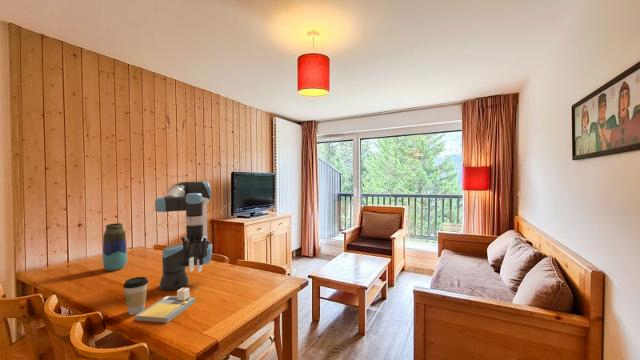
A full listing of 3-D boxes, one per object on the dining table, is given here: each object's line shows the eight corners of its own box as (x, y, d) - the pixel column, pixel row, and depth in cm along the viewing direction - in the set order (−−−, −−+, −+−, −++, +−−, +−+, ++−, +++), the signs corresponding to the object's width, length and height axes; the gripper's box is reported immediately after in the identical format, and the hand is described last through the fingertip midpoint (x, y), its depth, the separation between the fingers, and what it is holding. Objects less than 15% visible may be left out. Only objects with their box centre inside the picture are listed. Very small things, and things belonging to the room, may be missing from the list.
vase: (131, 267, 192) (130, 223, 191) (107, 273, 180) (106, 226, 179) (122, 264, 199) (121, 222, 199) (99, 270, 187) (98, 225, 187)
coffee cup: (132, 306, 133) (131, 276, 133) (152, 305, 134) (152, 275, 134) (118, 317, 123) (118, 284, 123) (141, 316, 124) (140, 283, 124)
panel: (134, 320, 120) (134, 315, 120) (167, 299, 141) (167, 294, 141) (166, 323, 118) (166, 317, 118) (195, 301, 138) (195, 296, 138)
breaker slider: (177, 299, 135) (176, 290, 135) (182, 296, 139) (182, 287, 139) (184, 300, 134) (184, 291, 134) (189, 296, 138) (189, 287, 138)
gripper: (174, 225, 132) (175, 273, 133) (205, 226, 130) (206, 274, 130) (184, 222, 140) (185, 267, 140) (214, 223, 137) (215, 269, 137)
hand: (195, 271), depth 135 cm, fingers open, 4 cm apart
